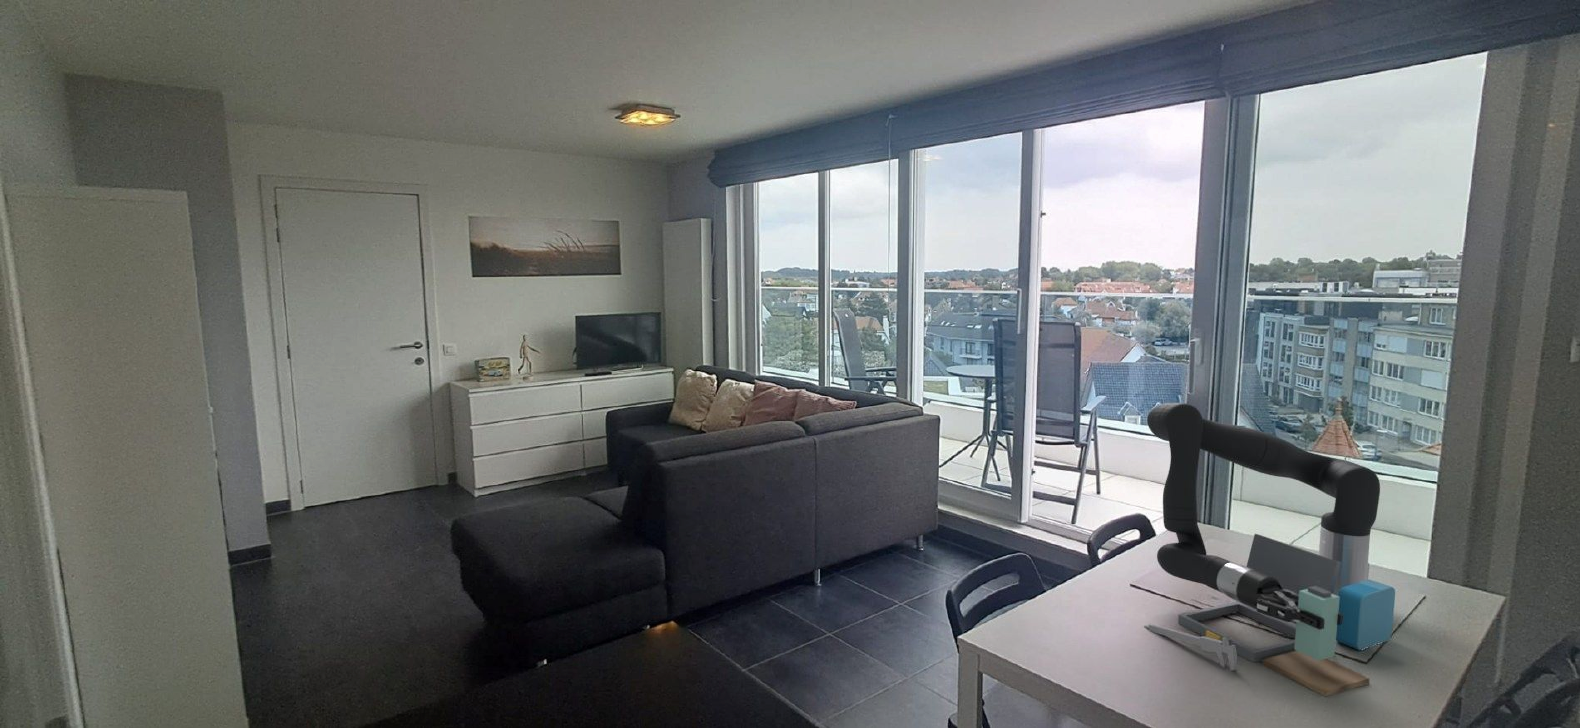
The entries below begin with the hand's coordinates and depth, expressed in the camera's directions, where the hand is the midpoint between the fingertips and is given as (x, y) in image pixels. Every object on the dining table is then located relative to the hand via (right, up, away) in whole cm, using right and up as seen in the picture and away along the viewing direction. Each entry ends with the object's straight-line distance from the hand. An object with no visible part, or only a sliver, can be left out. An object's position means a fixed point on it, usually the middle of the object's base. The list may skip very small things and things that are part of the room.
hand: (1332, 622), depth 135 cm
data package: (+18, -10, +16) cm, 26 cm away
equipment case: (-2, -10, +20) cm, 22 cm away
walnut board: (-1, -11, +4) cm, 12 cm away
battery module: (-1, -7, +3) cm, 8 cm away
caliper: (-19, -11, +14) cm, 26 cm away
